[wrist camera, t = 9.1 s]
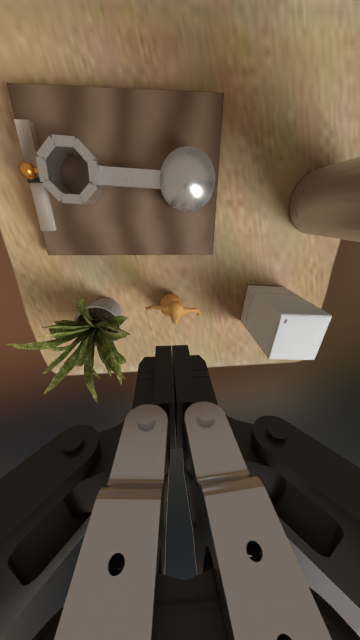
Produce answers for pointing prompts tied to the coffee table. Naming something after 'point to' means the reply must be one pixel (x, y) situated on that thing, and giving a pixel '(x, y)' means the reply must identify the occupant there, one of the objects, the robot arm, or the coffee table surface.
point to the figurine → (172, 307)
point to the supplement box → (283, 322)
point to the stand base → (119, 165)
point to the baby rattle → (126, 174)
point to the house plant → (86, 341)
